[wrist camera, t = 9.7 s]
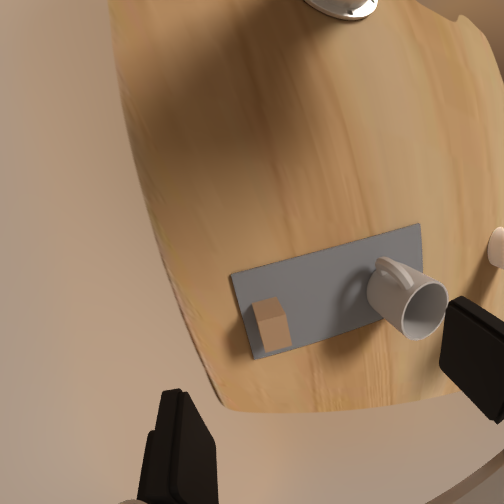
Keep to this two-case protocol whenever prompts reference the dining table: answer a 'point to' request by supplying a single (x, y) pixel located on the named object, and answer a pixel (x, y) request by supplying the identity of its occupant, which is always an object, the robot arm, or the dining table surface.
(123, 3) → the dining table surface
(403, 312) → the cup
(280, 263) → the strip
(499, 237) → the cylindrical container
